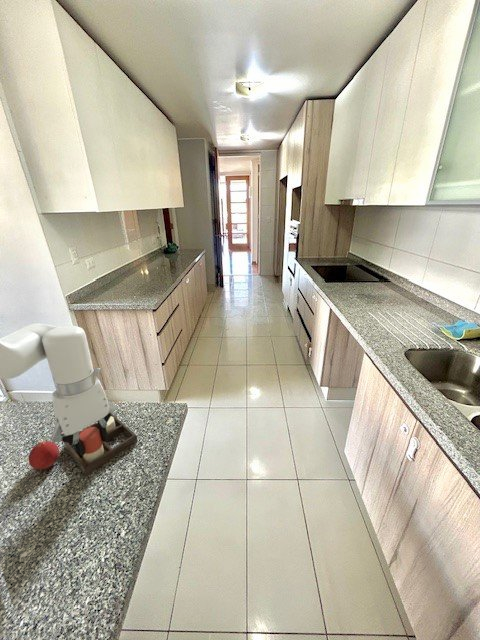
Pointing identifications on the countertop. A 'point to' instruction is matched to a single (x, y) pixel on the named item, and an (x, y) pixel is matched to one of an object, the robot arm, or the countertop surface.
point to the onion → (43, 455)
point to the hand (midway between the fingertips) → (91, 444)
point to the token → (110, 424)
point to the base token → (93, 455)
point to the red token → (91, 439)
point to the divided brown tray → (108, 450)
